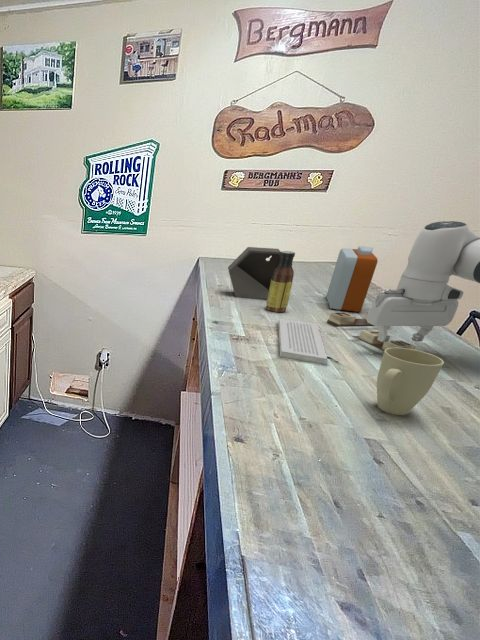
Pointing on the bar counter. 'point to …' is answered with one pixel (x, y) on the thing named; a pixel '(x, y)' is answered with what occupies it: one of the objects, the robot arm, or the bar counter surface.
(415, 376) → the mug
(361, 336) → the front rack
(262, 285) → the planter
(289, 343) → the plaque
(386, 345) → the s tile
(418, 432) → the bar counter surface
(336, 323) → the back rack
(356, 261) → the orange grey tall block
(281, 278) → the sauce bottle
